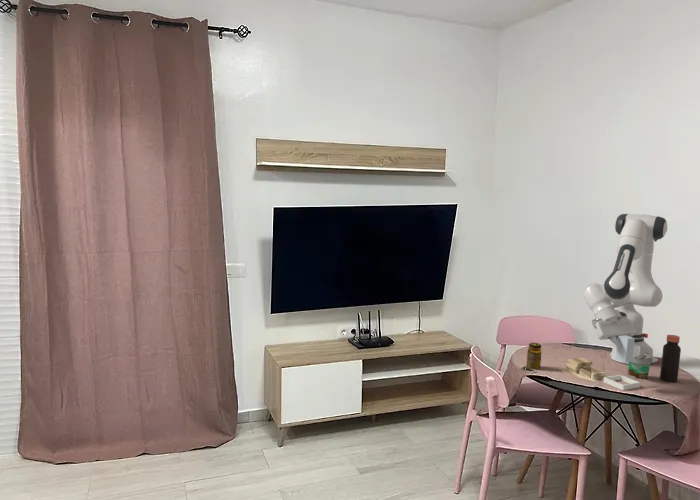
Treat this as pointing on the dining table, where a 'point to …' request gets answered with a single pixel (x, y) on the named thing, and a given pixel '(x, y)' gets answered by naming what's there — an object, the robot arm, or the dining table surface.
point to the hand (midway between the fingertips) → (624, 346)
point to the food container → (639, 367)
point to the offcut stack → (578, 364)
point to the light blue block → (625, 348)
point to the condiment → (533, 358)
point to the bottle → (670, 359)
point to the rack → (588, 374)
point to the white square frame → (631, 382)
